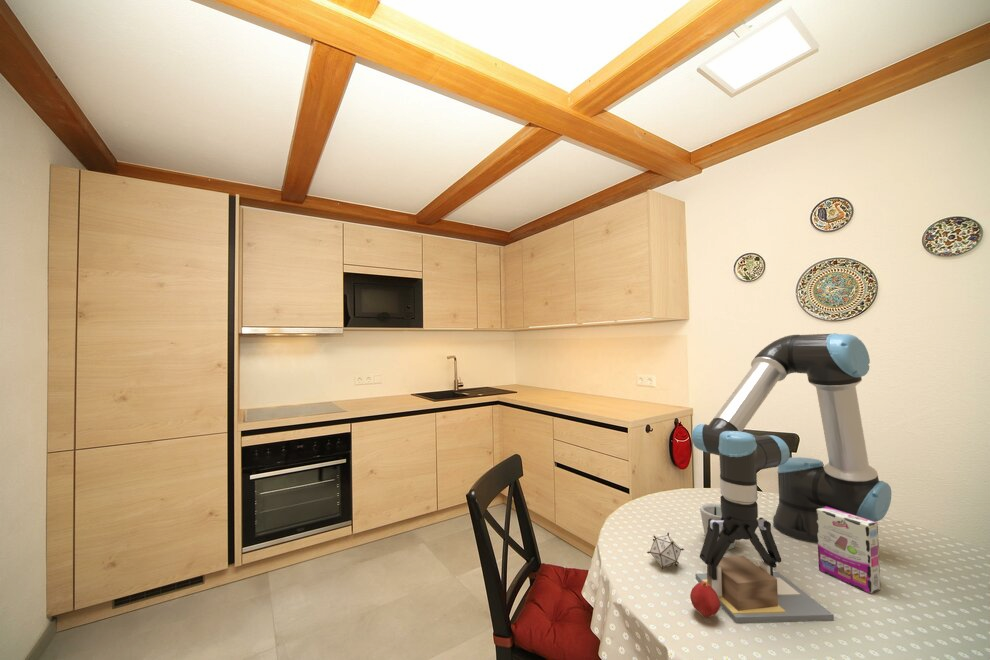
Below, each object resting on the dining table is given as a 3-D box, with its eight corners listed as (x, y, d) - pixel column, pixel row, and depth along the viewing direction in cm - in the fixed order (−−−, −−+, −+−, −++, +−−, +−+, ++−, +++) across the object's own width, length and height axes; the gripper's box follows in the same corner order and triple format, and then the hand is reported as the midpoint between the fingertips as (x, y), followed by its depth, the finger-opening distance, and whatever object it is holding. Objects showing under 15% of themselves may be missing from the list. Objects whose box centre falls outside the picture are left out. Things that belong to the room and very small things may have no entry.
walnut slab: (743, 579, 97) (742, 555, 97) (777, 606, 87) (777, 579, 87) (707, 583, 95) (706, 558, 96) (738, 610, 86) (737, 583, 86)
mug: (702, 548, 114) (701, 514, 115) (697, 526, 128) (696, 495, 129) (743, 555, 111) (742, 520, 111) (733, 531, 124) (732, 500, 125)
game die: (673, 582, 104) (690, 564, 99) (642, 568, 106) (657, 549, 100) (672, 551, 111) (688, 533, 106) (643, 538, 113) (657, 520, 108)
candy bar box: (882, 589, 95) (879, 522, 96) (871, 595, 93) (868, 526, 94) (828, 565, 105) (826, 505, 106) (817, 570, 103) (815, 508, 104)
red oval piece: (685, 608, 89) (684, 573, 89) (709, 607, 89) (708, 571, 89) (701, 627, 83) (700, 589, 83) (726, 625, 83) (725, 587, 84)
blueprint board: (778, 576, 101) (777, 570, 101) (833, 620, 85) (833, 613, 85) (695, 578, 100) (695, 572, 100) (735, 623, 84) (735, 616, 84)
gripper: (774, 491, 96) (777, 581, 95) (682, 492, 95) (684, 583, 95) (799, 503, 89) (802, 601, 88) (699, 505, 88) (701, 603, 87)
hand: (741, 592), depth 91 cm, fingers open, 11 cm apart
